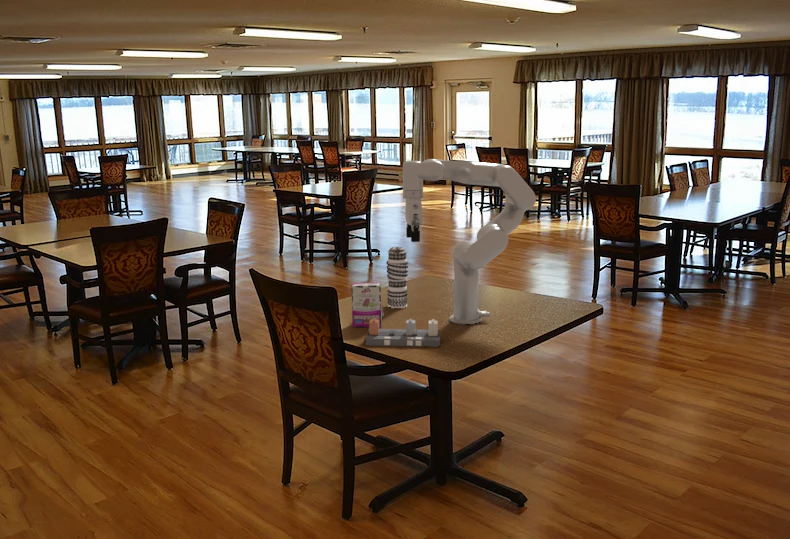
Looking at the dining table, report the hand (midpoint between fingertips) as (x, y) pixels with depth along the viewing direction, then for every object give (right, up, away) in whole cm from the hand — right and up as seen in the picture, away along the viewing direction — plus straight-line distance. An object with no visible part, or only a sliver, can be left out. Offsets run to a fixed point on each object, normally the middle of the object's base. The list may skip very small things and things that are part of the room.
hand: (413, 239), depth 275 cm
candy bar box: (-18, -33, +4) cm, 38 cm away
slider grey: (-1, -34, -15) cm, 37 cm away
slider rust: (-14, -34, -14) cm, 40 cm away
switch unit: (-4, -37, -14) cm, 40 cm away
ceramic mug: (-16, -31, +13) cm, 38 cm away
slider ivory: (+7, -34, -15) cm, 38 cm away
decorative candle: (-6, -27, +32) cm, 42 cm away
